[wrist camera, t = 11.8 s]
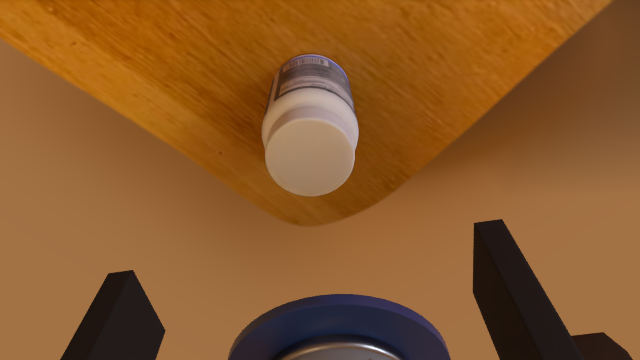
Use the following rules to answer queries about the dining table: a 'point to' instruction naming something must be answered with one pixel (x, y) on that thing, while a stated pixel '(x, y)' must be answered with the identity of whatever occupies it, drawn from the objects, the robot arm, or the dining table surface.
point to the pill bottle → (310, 126)
